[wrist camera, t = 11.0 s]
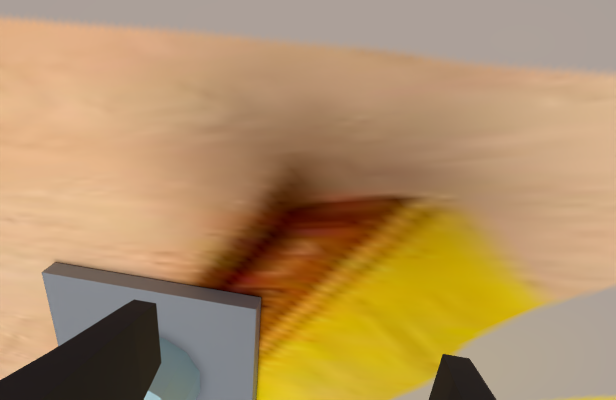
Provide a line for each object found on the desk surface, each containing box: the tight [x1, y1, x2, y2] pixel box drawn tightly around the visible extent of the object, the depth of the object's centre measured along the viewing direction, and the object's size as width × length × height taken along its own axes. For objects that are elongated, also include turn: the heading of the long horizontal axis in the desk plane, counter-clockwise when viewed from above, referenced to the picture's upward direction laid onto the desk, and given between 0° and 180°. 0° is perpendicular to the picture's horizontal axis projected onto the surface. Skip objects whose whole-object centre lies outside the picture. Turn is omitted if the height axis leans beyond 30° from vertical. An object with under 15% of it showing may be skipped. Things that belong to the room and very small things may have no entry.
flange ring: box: [144, 338, 200, 400], centre depth 22 cm, size 6×6×3 cm
